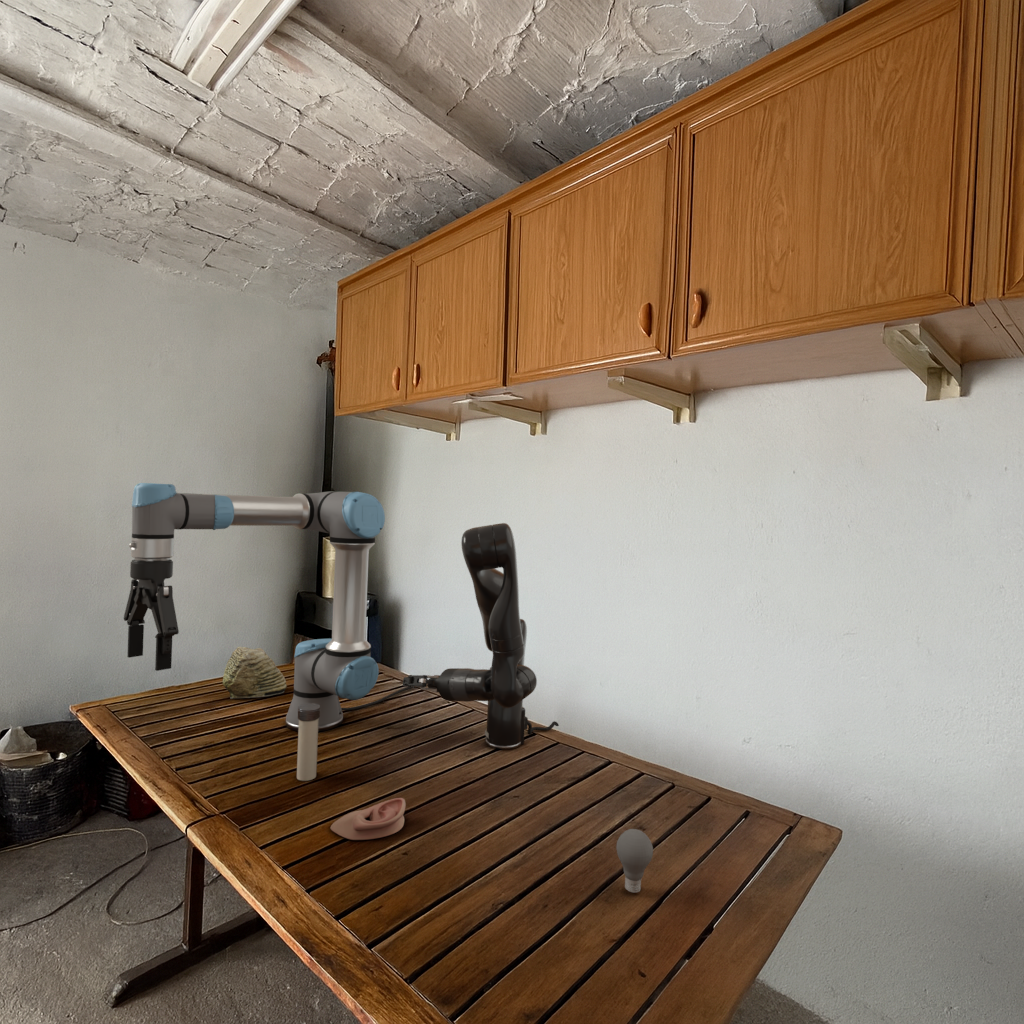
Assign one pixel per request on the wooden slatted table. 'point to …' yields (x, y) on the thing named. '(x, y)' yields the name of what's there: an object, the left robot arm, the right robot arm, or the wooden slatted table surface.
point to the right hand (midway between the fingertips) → (417, 684)
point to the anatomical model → (372, 821)
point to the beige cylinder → (307, 750)
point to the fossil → (252, 674)
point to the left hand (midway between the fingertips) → (148, 662)
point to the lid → (308, 712)
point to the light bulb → (634, 857)
